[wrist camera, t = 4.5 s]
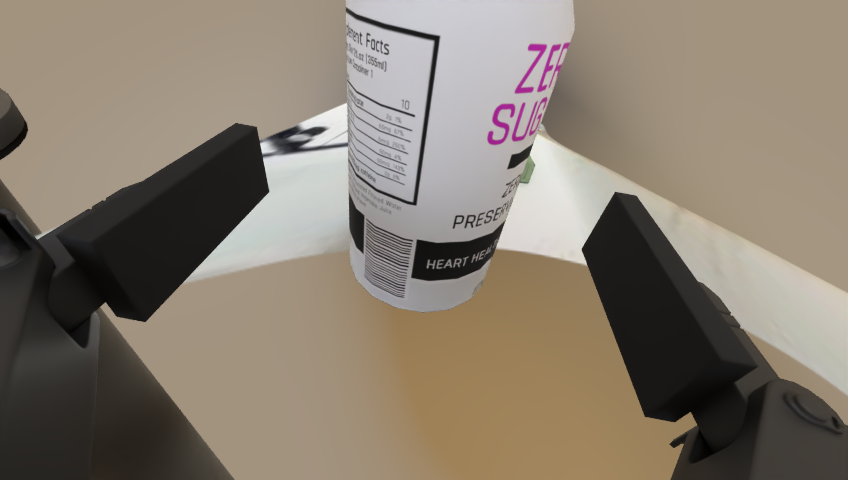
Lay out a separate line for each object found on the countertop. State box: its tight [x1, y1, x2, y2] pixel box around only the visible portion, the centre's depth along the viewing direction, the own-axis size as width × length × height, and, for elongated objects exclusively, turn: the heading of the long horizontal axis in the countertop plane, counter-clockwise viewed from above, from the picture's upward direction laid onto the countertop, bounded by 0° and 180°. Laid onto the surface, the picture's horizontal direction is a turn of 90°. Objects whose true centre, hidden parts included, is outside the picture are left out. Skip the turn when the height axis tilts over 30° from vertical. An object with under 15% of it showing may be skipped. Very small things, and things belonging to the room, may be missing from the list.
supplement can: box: [346, 0, 575, 312], centre depth 16 cm, size 8×8×15 cm
